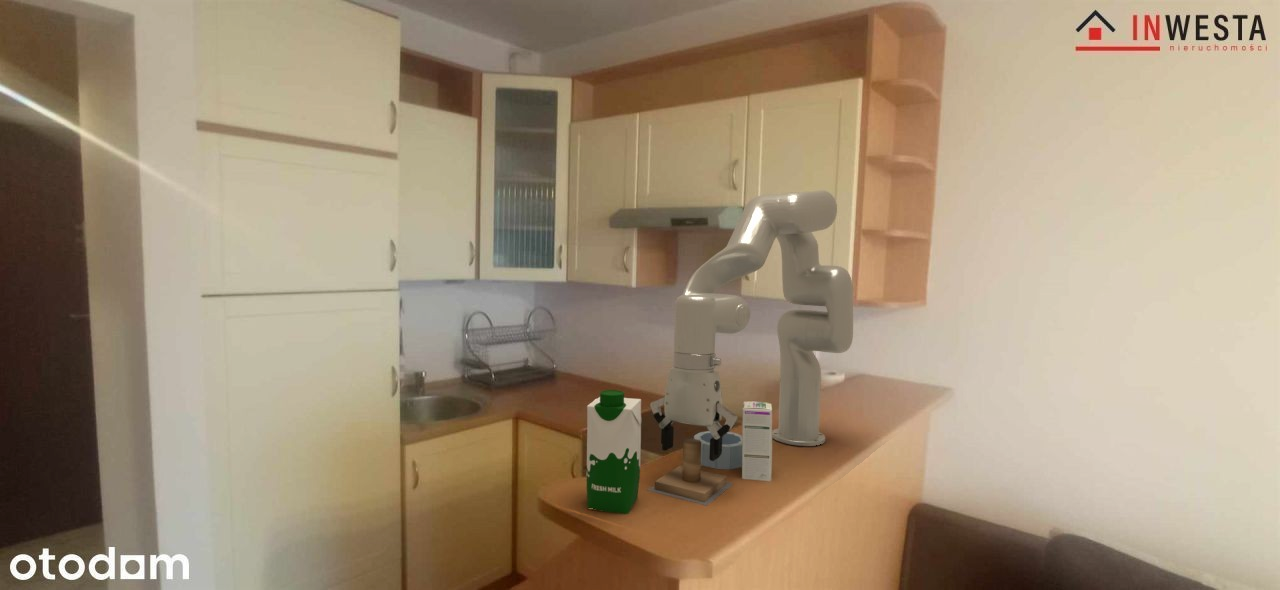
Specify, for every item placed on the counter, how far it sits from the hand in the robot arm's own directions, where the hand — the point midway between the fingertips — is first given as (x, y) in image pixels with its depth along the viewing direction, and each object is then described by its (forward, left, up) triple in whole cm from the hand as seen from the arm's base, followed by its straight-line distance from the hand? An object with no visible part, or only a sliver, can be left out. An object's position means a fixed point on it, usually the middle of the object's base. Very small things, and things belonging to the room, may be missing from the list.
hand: (690, 453), depth 103 cm
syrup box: (-13, +8, -7) cm, 17 cm away
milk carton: (+14, -8, -7) cm, 17 cm away
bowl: (-17, -1, -7) cm, 19 cm away
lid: (0, 0, -6) cm, 6 cm away
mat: (0, 0, -7) cm, 7 cm away
